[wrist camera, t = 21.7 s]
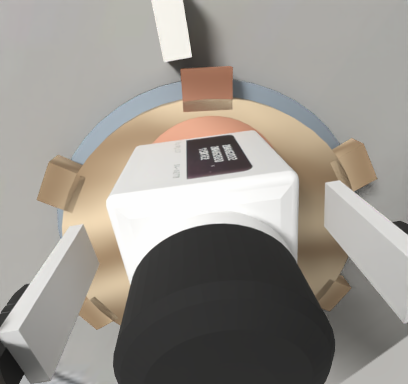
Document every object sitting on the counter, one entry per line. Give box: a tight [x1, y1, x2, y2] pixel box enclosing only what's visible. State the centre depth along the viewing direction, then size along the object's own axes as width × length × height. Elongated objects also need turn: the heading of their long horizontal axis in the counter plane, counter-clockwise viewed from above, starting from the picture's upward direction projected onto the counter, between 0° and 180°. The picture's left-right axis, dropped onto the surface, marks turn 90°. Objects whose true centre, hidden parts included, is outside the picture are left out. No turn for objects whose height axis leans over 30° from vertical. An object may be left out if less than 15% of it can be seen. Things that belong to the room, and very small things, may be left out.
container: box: [106, 130, 335, 384], centre depth 14 cm, size 8×8×13 cm
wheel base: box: [57, 0, 356, 239], centre depth 22 cm, size 29×24×3 cm
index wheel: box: [37, 66, 377, 330], centre depth 20 cm, size 25×24×8 cm
